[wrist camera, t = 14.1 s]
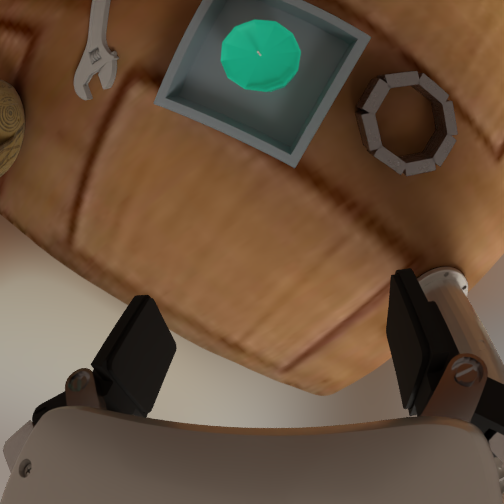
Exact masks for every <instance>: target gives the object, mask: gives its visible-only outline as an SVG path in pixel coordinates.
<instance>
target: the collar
mask: <svg viewBox="0 0 504 504" xmlns="http://www.w3.org/2000/svg"><path fill="white" fill-rule="evenodd" d="M377 78H378V79H372V80H371V81H370V83H369V85H368V87H367V88H366V90H365V92H364V93H363V95H362V97H361V98H360V100H359V102H358V104H357V105H356V107H357V108H359V109H361V110H362V111H360V112H355V114H356V118H357V122H358V126H359V130H360V134H361V138H362V142H363V145H364V146H365V147H366V148H367V151H368V152H369V153H371V154H372V155H373V156H374V157H376V158H377V159H379V160H380V161H382V162H383V163H385V164H386V165H387V166H389V167H390V168H392V169H393V170H395V171H396V172H397V173H399V174H400V175H401V174H402V173H403V174H404V175H406V176H410V175H415V174H420V173H424V172H429V171H434V170H436V167H435V164H437V165H438V166H440V167H441V165H442V163H443V162H444V160H445V159H446V157H447V155H448V154H449V152H450V150H451V149H452V147H453V146H454V144H455V142H456V139H455V138H454V137H452V136H451V135H457V134H458V133H457V126H456V120H455V114H454V108H453V103H452V101H449V100H447V98H448V96H449V95H448V94H447V93H446V92H445V91H444V90H443V89H442V88H440V87H439V86H438V85H437V84H436V83H435V82H433V81H432V80H431V79H430V78H429V77H427V76H426V75H425V74H424V73H418V72H417V71H410V72H400V73H392V74H385V75H378V76H377ZM409 85H411V86H412V87H413V88H415V89H416V90H417V91H418V92H420V93H421V94H422V95H423V96H425V97H426V98H427V99H428V100H429V101H431V105H432V110H433V115H434V120H435V126H436V131H435V132H434V134H433V136H432V137H431V139H430V141H429V142H428V144H427V146H426V147H425V149H424V150H423V152H421V153H415V154H410V155H405V156H400V157H397V156H396V155H394V154H393V153H391V152H390V151H389V150H387V149H386V148H384V147H383V146H382V143H381V138H380V133H379V129H378V125H377V121H376V116H375V113H376V112H377V110H378V108H379V107H380V105H381V103H382V102H383V100H384V98H385V97H386V95H387V93H388V91H389V90H390V88H394V87H401V86H409Z"/></svg>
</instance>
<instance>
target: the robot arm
mask: <svg viewBox="0 0 504 504" xmlns="http://www.w3.org/2000/svg"><path fill="white" fill-rule="evenodd" d="M467 294H468V283H467V280H466V278H465V277H464V275H463V274H462V273H461V272H460V271H459V270H458V269H455V268H453V267H439V268H435V269H433V270H430V271H428V272H426V273H425V274H423V275H421V276H420V277H419V278H416V276H415V274H414V272H413V271H412V269H410V268H409V269H402V270H397V271H396V273H395V275H391V282H390V296H389V307H388V317H387V326H386V334H387V339H388V343H389V347H390V351H391V355H392V359H393V363H394V367H395V371H396V375H397V380H398V385H399V389H400V394H401V399H402V404H403V408H404V409H407V408H408V410H409V415H410V416H412V415H417V417H406V418H398V419H390V420H381V421H375V422H367V423H357V424H348V425H335V426H323V427H306V428H238V427H221V426H208V425H197V424H188V423H179V422H172V421H164V420H158V419H151V418H146V417H147V414H148V413H149V412H151V410H152V408H153V406H154V403H155V400H156V398H157V396H158V393H159V391H160V388H161V386H162V383H163V381H164V378H165V376H166V373H167V371H168V369H169V366H170V363H171V361H172V359H173V356H174V354H175V352H176V343H175V341H174V339H173V337H172V335H171V333H170V331H169V329H168V327H167V325H166V323H165V321H164V319H163V317H162V315H161V313H160V311H159V309H158V307H157V305H156V303H155V301H154V299H153V298H151V297H150V296H149V295H137V296H135V297H134V298H133V299H132V301H131V302H130V304H129V305H128V307H127V309H126V310H125V311H124V313H123V314H122V316H121V317H120V319H119V320H118V322H117V323H116V325H115V327H114V328H113V330H112V331H111V333H110V334H109V336H108V337H107V339H106V341H105V342H104V344H103V345H102V347H101V349H100V350H99V352H98V353H97V355H96V357H95V358H94V360H93V362H92V363H91V365H92V367H93V368H94V370H93V372H92V371H91V370H90V369H87V368H81V369H79V370H77V371H75V372H73V373H72V374H71V375H70V376H69V378H68V379H67V381H66V384H65V392H63V393H61V394H59V395H57V396H56V397H54V398H52V399H50V400H48V401H46V402H44V403H42V404H41V405H39V406H38V407H37V408H36V409H35V411H34V413H33V417H32V421H33V422H32V421H31V420H30V421H28V422H27V423H26V424H25V425H24V426H23V427H21V428H20V429H19V430H18V431H17V432H16V433H15V434H14V435H12V436H11V437H10V438H9V439H8V440H7V441H6V442H5V445H4V449H3V452H4V456H5V459H6V461H7V464H8V466H9V469H10V471H11V475H10V478H9V480H8V482H7V485H6V488H5V490H4V493H3V496H2V499H1V502H0V504H504V480H502V481H500V482H499V479H501V478H502V477H504V365H503V363H502V360H501V359H500V356H499V354H498V353H497V350H496V349H495V346H494V344H493V342H492V341H491V339H490V337H489V335H488V333H487V331H486V329H485V328H484V326H483V324H482V322H481V320H480V319H479V317H478V315H477V313H476V312H475V310H474V308H473V307H472V305H471V304H470V302H469V300H468V298H467Z"/></svg>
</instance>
